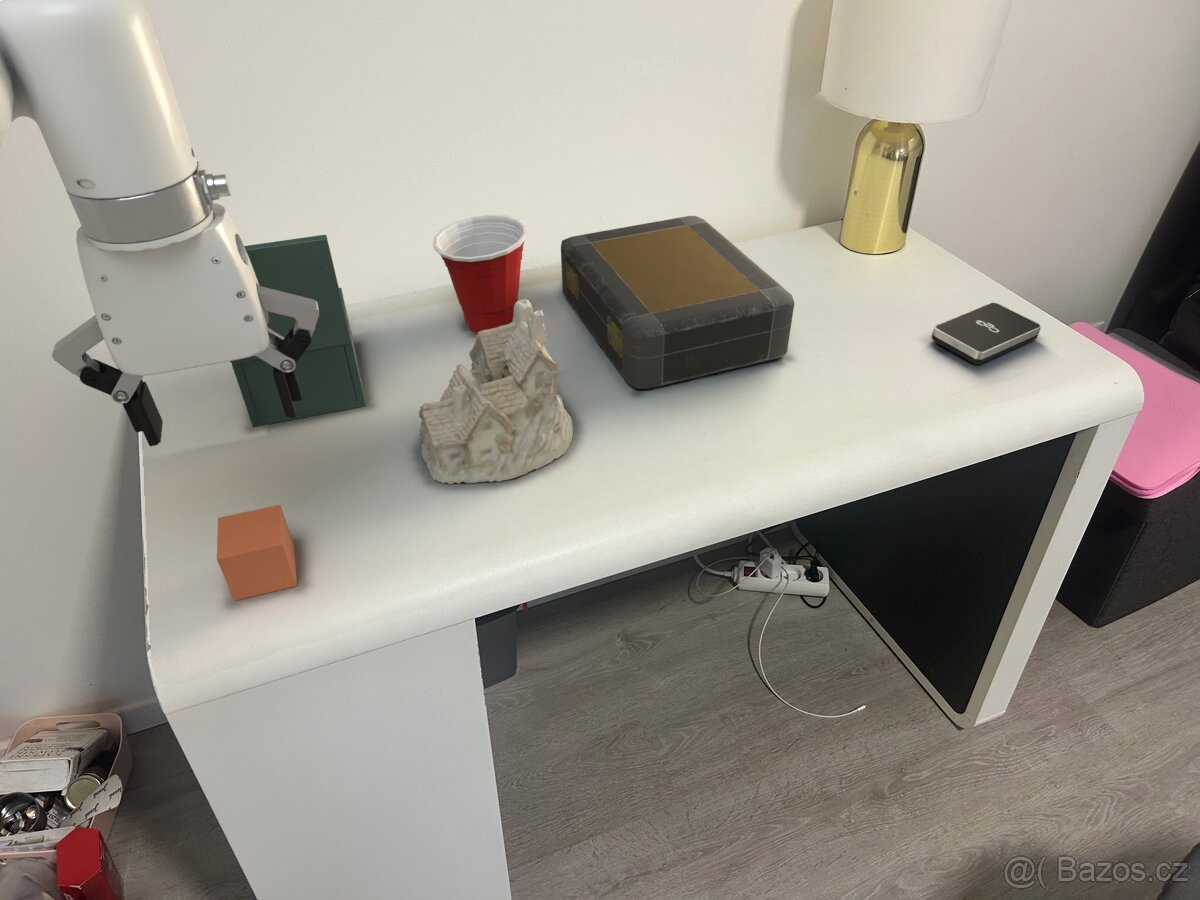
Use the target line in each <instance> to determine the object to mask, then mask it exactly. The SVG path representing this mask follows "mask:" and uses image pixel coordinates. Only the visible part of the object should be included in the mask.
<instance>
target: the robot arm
mask: <svg viewBox="0 0 1200 900" xmlns="http://www.w3.org/2000/svg"><path fill="white" fill-rule="evenodd" d="M152 22H153V21H152V19H151V17H150V14H149V12H148V9H147V5H146V4H145V2H144V1H143V0H0V154H1V153H2V152H3V150H4V148H5V146H6V143H7V140H8V138H9V135H10V129H11V124H12V123H13V122H14V121H15V120H17V119H18V118H22V117H26V118H29V119H32V121H34V122H35V123H36V124H37V127H38V128H39V131H40V133H41V135H42V138H43V140H44V141H45V144H46V147H47V149H48V151H49V153H50V156H51V158H52V161H53V163H54V165H55V168H56V170H57V173H58V174H59V177H60V179H61V182H62V184H63V187H64V189H65V191H66V193H67V196H68V197H69V198H68V199H69V201H70V203H71V205H72V208H73V209H74V213H75V214H76V216H77V219H78V221H79V223H80V226H79V227H78V228H77V230H76V237H75V239H76V240H75V241H76V246H77V247H76V248H77V253H78V257H79V258H78V259H79V263H80V266H81V270H82V274H83V279H84V282H85V285H86V289H87V292H88V295H89V299H90V302H91V305H92V308H93V312H94V315H93V316H92V317H90V318H89V319H88V320H85V322H83V323H82V324H80V325H79V326H78V327H76V328H75V329H73V330H72V331H71V332H70V333H68V334H66V335H65V336H64V337H62V338H61V339H60V340H58V341H56V343H55V344H54V346H53V350H52V353H51V358H52V360H54V361H55V362H56V363H57V364H59V365H60V366H62V367H63V368H64V369H65V370H67V371H69V372H70V373H71V374H72V375H75V376H76V377H78V378H79V381H80V382H81V383H82V384H83V385H85V386H87V387H90V388H92V389H94V390H97V391H99V392H102V393H104V394H105V395H108V396H110V397H111V400H112V401H113V402H115V403H116V404H122V407H123V408H124V410H125V413H126V415H127V417H128V420H129V422H130V423H131V425H132V428H133V430H134V431H135V433H143V435H144V437H145V440H146V442H147V444H148V446H149V447H155V446H158V445H159V444H160V443H162V433H163V423H164V422H163V418H162V416H161V414H160V411H159V409H158V407H157V404H156V402H155V399H154V397H153V395H152V393H151V391H150V388H149V386H148V383H147V382H146V381H143V377H144V376H145V377H146V376H153V375H161V374H167V373H171V372H178V371H183V370H190V369H194V368H200V367H205V366H211V365H216V364H222V363H227V362H230V361H233V360H238V359H243V358H247V357H251V356H254V355H255V356H257V357H258V358H260V359H262V360H263V361H265V362H267V363H269V364H270V365H272V366H273V375H274V380H275V383H276V387H277V390H278V393H279V396H280V399H281V402H282V405H283V409H284V412H285V415H286V417H289V418H295V417H297V416H296V406H295V401H300V400H303V397H302V391H301V387H300V383H299V380H298V377H297V373H296V370H295V366H296V365H295V363H296V362H297V361H298V359H299V358H300V357H301V355H302V354H303V353H304V351H305V350H306V349H307V348H308V346H309V345H310V343H311V338H312V334H313V332H314V329H315V326H316V323H317V320H318V317H319V307H318V303H317V301H315V300H314V299H310V298H306V297H302V296H298V295H294V294H290V293H286V292H282V291H278V290H274V289H270V288H266V287H262V286H259V283H258V280H257V278H256V275H255V272H254V270H253V267H252V264H251V262H250V259H249V257H248V254H247V252H246V249H245V247H244V246H245V245H244V242H243V240H242V238H241V236H240V234H239V231H238V230H237V228H236V226H235V224H234V222H233V220H232V219H231V217H230V215H229V214H228V211H227V210H226V208H225V207H224V206H223V205H222V204H219V203H215V201H216V200H220V198H223V197H229V196H232V192H231V186H230V183H229V180H228V176H227V174H226V173H223V174H215V175H214V174H213V173H207V172H206V170H205V169H202V168H201V165H200V162H199V161H197V158H196V156H195V153H194V150H193V149H194V148H193V146H192V143H191V140H190V137H189V134H188V130H187V128H186V124H185V122H184V119H183V116H182V113H181V110H180V107H179V104H178V100H177V97H176V94H175V91H174V88H173V84H172V81H171V78H170V75H169V72H168V69H167V66H166V63H165V60H164V57H163V53H162V51H161V47H160V44H159V41H158V38H157V35H156V32H155V29H154V25H153V23H152ZM268 312H272V313H276V314H280V315H285V316H289V317H293V318H295V319H296V322H295V325H294V326H293V327H292V329H291V330H290V331H289V333H288V334H287V335H286V337H285V338H284V337H283V336H281V335H279V334H278V333H276V332H275V331H273V330H271V329H270V328H268V327H267V324H268V323H269V315H268ZM103 340H104V342H105V346H106V347H107V350H108V352H109V354H110V357H111V359H112V361H113V362H114V364H115V365H116V367H114V366H112V365H109V364H108V363H105V362H102V361H100V360H98V359H96V358H92V357H91V355H89V353H87V352H88V351H89V350H91V349H93V348H94V347H95V346H97V345H98V344H99V343H101V342H102V341H103Z"/></svg>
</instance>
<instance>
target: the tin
mask: <svg viewBox="0 0 1200 900" xmlns="http://www.w3.org/2000/svg"><path fill="white" fill-rule="evenodd" d="M339 290H340V294H341V299H342V303H343V307H344V311H345V316H346V320H347V324H348V328H349V333H350V337H351V343H345V344H340V345H334V346H328V347H322V348H316V349H311V350H305V351H304V353H303V354H302V355H301V357H300V358H299V359H298V361H297V362H296V363H295V365H296V366H295V370H296V373H297V377H298V380H299V383H300V387H301V391H302V397H303V400H300V401H295V406H296V416H297V417H295V418H289V417H286V415H285V412H284V409H283V405H282V402H281V399H280V396H279V393H278V390H277V387H276V383H275V380H274V375H273V366H272V365H270V364H269V363H267V362H265V361H263V360H262V359H260V358H258V359H253V360H247V361H241V362H235V363H231V367H232V370H233V373H234V375H235V379H236V381H237V384H238V387H239V391H240V394H241V396H242V399H243V402H244V404H245V405H244V406H245V408H246V411H247V414H248V417H249V420H250V423H251V425H252V428H257V427H262V426H267V425H272V424H277V423H278V424H279V423H283V422H289V421H294V420H298V419H299V420H300V419H304V418H309V417H314V416H319V415H325V414H330V413H336V412H340V411H347V410H352V409H356V408H361V407H366V406H367V403H366V398H365V392H364V387H363V382H362V378H361V372H360V371H361V370H360V366H359V362H358V357H357V352H356V346H355V342H354V337H353V333H352V328H351V324H350V320H349V315H348V311H347V307H346V303H345V298H344V294H343V289H342V287H339Z"/></svg>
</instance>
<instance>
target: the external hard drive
mask: <svg viewBox="0 0 1200 900" xmlns="http://www.w3.org/2000/svg"><path fill="white" fill-rule="evenodd" d="M1041 328H1042V324H1041V323H1039V322H1037V321H1035V320H1034V319H1031V318H1029V317H1027V316H1025V315H1023V314H1021V313H1019V312H1017V311H1014V310H1013V309H1010V307H1009V308H1008V307H1006V306H1004V305H1003V304H1000V303H998V302H995V301H991V302H987V303H986V304H984V305H981V306H979V307H975V308H974V309H971V310H969V311H966V312H964V313H961V314H959V315H957V316H954V317H952V318H949V319H946V320H944V321H941V322H939V323H936V324H935V325H934V326H933V329H932V332H931V340H932V341H933V342H935V343H936V344H938V345H940V346H942V347H943V348H945V349H947V350H949V351H951V352H953V353H954V354H956V355H958V356H960V357H961V358H963V359H965V360H966V361H968V362H970V363H971V364H973V365H980V364H982V363H984V362H986V361H989V360H992V359H993V358H996V357H998V356H1000V355H1002V354H1005V353H1007V352H1009V351H1011V350H1014V349H1016V348H1019V347H1020V346H1023V345H1025V344H1027V343H1029V342H1031V341H1033V340H1035V339H1037V338H1038V336H1039V334H1040V332H1041Z"/></svg>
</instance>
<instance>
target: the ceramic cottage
mask: <svg viewBox="0 0 1200 900" xmlns="http://www.w3.org/2000/svg"><path fill="white" fill-rule="evenodd" d="M544 321H545V313H544V312H543V309H539V310H535V311H534V309H533V305H532V304H531V302H530V301H529V299H526V298H524V299H520V300H519V299H518V301H517V302H516V303H515V305H514V315H513V322H511V323H510V324H507V325H503V326H500V327H497V328H493V329H488V330H483V331H480V332H477V333H478V334H477V333H476V334H477V335H476V336H475V340H474V344H473V346H472V349H470V351H469V353H468V355H469V357H470V360H471V362H472V363H471V369H470V370H468V369H467V368H466V367H465V366H464V364H462V363H459V364H456V370H453V375H452V376H451V377H450V378H449V380H448V383H449V384H448V385H447V388H445V389H444V391H443V392H442V396H441V397H440V399H439V400H438V401H435V402H424V403H423V404H422V405H421V406H419V411H418V416H419V419H421V422H420V427H419V429H418V432H419V433H418V436H419V438H421V441H422V444H421V450H420V451H421V452H420V453H421V458H422V460H423V462H424V463H425V464H426V467H427V470H428V472H429V475H430V476H431V477H432V479H433V481H435V480H436V481H437V482H439V483H442V484H446V483H447V484H448V485H449V484H450V485H453V484H455V483H456V484H461V483H465V484H475V483H484V482H486V483H487V482H488V483H493V482H497V483H499V482H502V481H508V480H511V479H516V478H518V477H520V476H523V475H528V474H529V472H532V471H534V470H539V469H540V468H543V467H545V466H547V465H548V464H550V463H553V461H554V460H555V459H556V460H558V458H561V456H563V455H565V454H566V452H567V451H568V449H569V447H570V445H571V443H572V441H573V436H574V424H573V420H572V416H571V415H570V414H569V412H568V410H567V409H565V405H564V401H563V398H562V396H561V395H560V394H559V393H558V377H559V375H560V374H561V372H562V370H561V367H560V365H559V364H558V363H557V362H555V361H554V360H553V358H552V357H551V355H550V354H549V353H548V351H547V348H546V347H545V343H546V340H547V333H546V329H545V328H546V327H545V325H544Z"/></svg>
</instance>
